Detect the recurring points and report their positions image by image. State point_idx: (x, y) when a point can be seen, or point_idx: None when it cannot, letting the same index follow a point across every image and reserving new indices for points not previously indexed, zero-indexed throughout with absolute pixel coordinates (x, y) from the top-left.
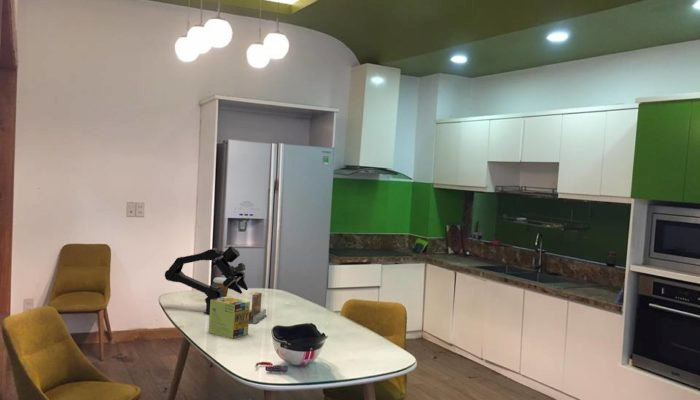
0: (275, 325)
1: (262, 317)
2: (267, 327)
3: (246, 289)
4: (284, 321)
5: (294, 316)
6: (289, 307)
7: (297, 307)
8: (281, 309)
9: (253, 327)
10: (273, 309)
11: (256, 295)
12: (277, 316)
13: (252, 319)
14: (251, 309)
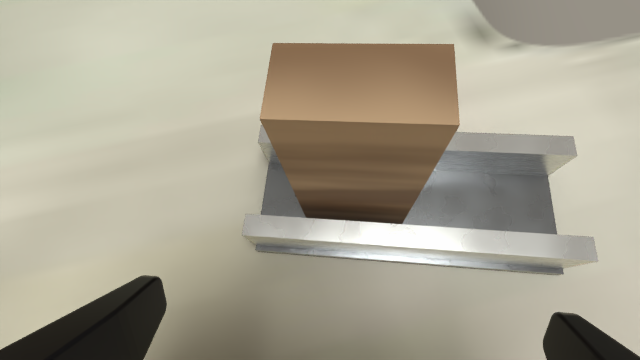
0: (496, 44)
1: None
2: (573, 73)
3: (155, 308)
4: (376, 22)
5: (239, 3)
6: (13, 68)
7: (14, 31)
8: (69, 98)
9: (631, 152)
10: (72, 143)
11: (454, 71)
12: (264, 81)
13: (447, 202)
14: (308, 235)
